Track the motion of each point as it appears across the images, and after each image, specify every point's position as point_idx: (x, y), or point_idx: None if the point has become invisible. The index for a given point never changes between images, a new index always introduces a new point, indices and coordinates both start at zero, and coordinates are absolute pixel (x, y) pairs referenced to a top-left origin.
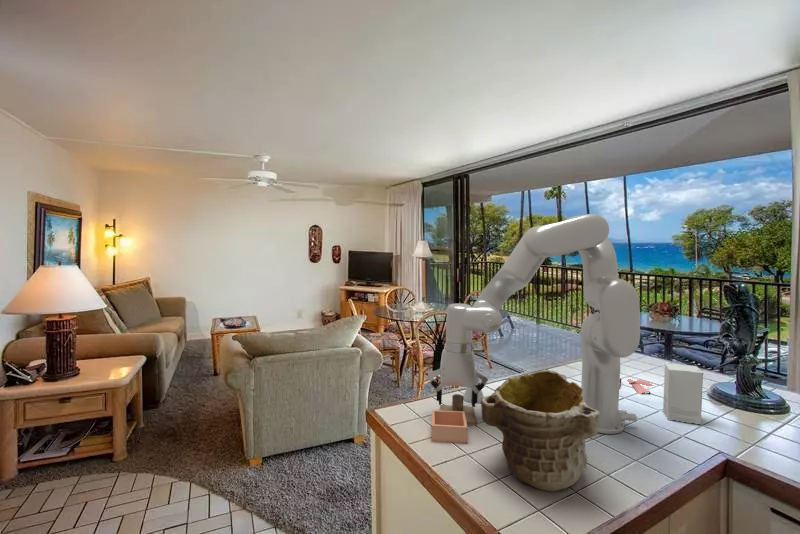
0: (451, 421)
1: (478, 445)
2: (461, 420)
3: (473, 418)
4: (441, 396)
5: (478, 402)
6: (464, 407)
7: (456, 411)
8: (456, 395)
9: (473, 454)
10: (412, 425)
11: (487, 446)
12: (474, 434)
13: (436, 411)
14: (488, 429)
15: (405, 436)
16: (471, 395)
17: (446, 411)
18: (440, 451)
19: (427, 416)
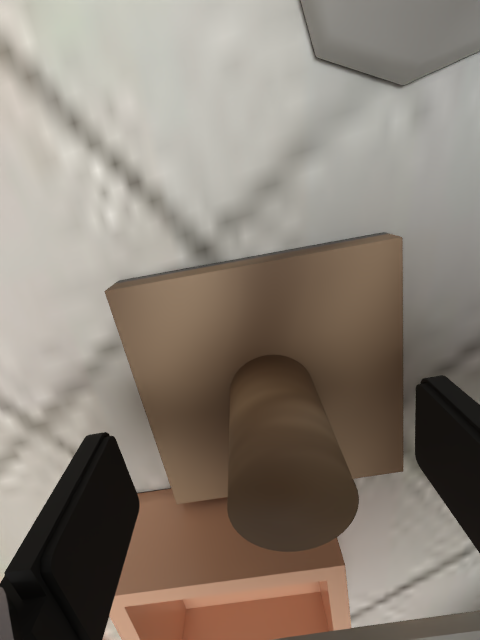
0: None
1: (380, 578)
2: None
3: (385, 433)
4: (115, 589)
5: (466, 50)
6: (322, 280)
7: (283, 577)
8: (273, 488)
9: (355, 625)
10: (35, 515)
11: (419, 575)
12: (369, 512)
13: (138, 603)
14: None
15: None
16: (426, 5)
17: (209, 593)
18: None
19: (70, 407)
